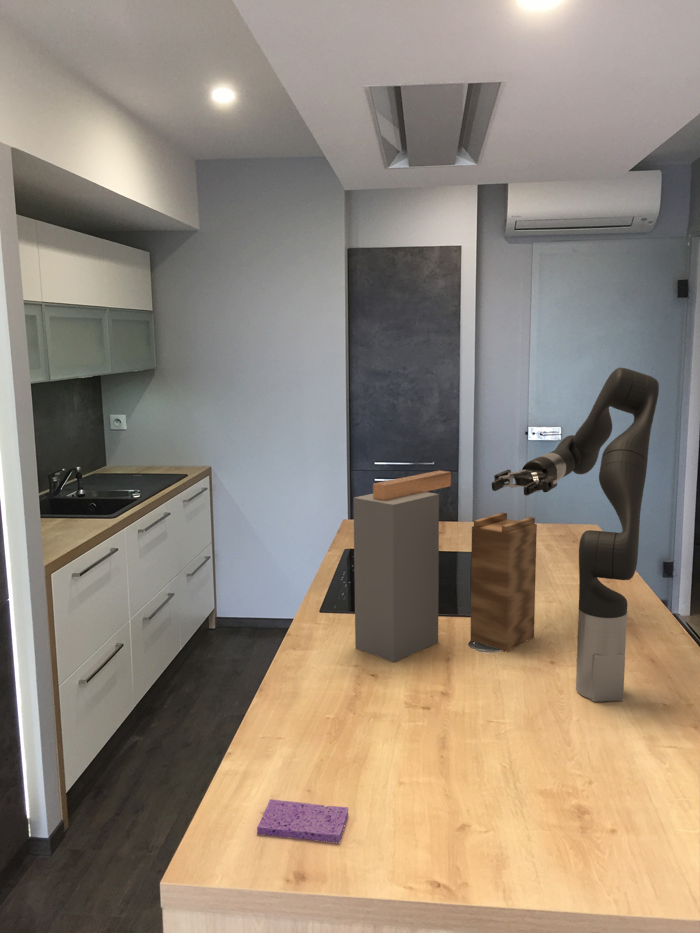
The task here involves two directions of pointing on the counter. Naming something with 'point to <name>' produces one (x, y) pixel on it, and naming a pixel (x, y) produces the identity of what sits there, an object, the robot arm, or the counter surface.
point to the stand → (396, 574)
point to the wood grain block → (503, 581)
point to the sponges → (303, 821)
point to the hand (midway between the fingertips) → (509, 489)
